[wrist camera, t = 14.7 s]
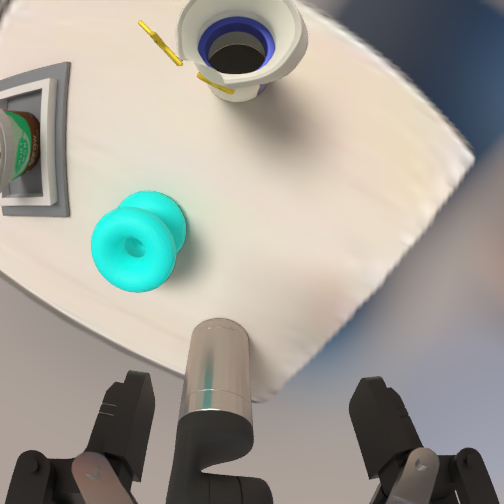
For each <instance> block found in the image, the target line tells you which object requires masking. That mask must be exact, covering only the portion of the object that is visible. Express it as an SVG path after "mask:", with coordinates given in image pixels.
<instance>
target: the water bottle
mask: <svg viewBox="0 0 504 504" xmlns="http://www.w3.org/2000/svg"><path fill="white" fill-rule="evenodd" d="M138 24H139V25H140V26H141V27H142V28H143V29H144V30H145V31H146V32H147V33H148V34H149V35H150V36H151V38H152V39H153V40H154V42H155V43H156V44H157V45H158V46H159V47H160V48H161V49H162V50H163V51H164V52H165V53H166V54H167V55H168V56H169V57H170V58H171V59H172V61H173V62H174V63H175V64H176V65H177V66H182V65H183V63H182V62H181V61H183V60H186V61H191V62H194V64H195V66H196V68H197V69H198V71H199V73H198V74H197V77H198V78H199V79H200V80H202V81H204V82H206V83H207V84H208V86H209V88H210V89H211V91H212V92H213V93H214V94H215V95H216V96H218V97H219V98H221V99H223V100H226V101H230V102H244V101H248V100H250V99H253V98H255V97H256V96H258V95H259V94H260V93H261V92H262V91H263V90H264V89H265V87H266V85H267V83H270V82H273V81H276V80H278V79H281V78H283V77H284V76H286V75H288V74H289V73H290V72H291V71H293V70H294V68H295V67H296V66H297V65H298V63H299V62H300V61H301V59H302V58H303V56H304V54H305V52H306V50H307V46H308V33H307V28H306V25H305V23H304V20H303V18H302V16H301V14H300V12H299V11H298V9H297V8H296V6H295V4H294V3H293V1H292V0H189V1H188V2H187V3H186V5H185V6H184V8H183V9H182V11H181V13H180V15H179V18H178V21H177V25H176V41H177V52H178V55H179V58H180V59H179V58H178V57H177V56H176V55H175V54H174V53H173V52H172V51H171V50H170V49H169V48H168V47H167V46H166V44H165V43H164V42H163V41H162V39H161V38H160V37H159V36H158V35H157V33H156V32H153V31H152V30H151V29H150V28H148V27H147V26H146V25H145V24H144V23H143V22H142V21H138ZM232 44H243V45H248V46H251V47H253V48H255V49H257V50H258V51H259V52H260V53H262V55H263V56H264V57H265V59H264V62H263V64H262V65H261V66H260V67H259V68H258V69H257V70H256V71H254V72H251V73H246V74H224V73H220V72H217V71H216V70H215V69H214V68H213V67H212V66H211V65H210V63H209V59H210V58H211V56H212V55H213V54H214V53H215V52H216V51H218V50H219V49H221V48H223V47H225V46H228V45H232Z"/></svg>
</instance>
